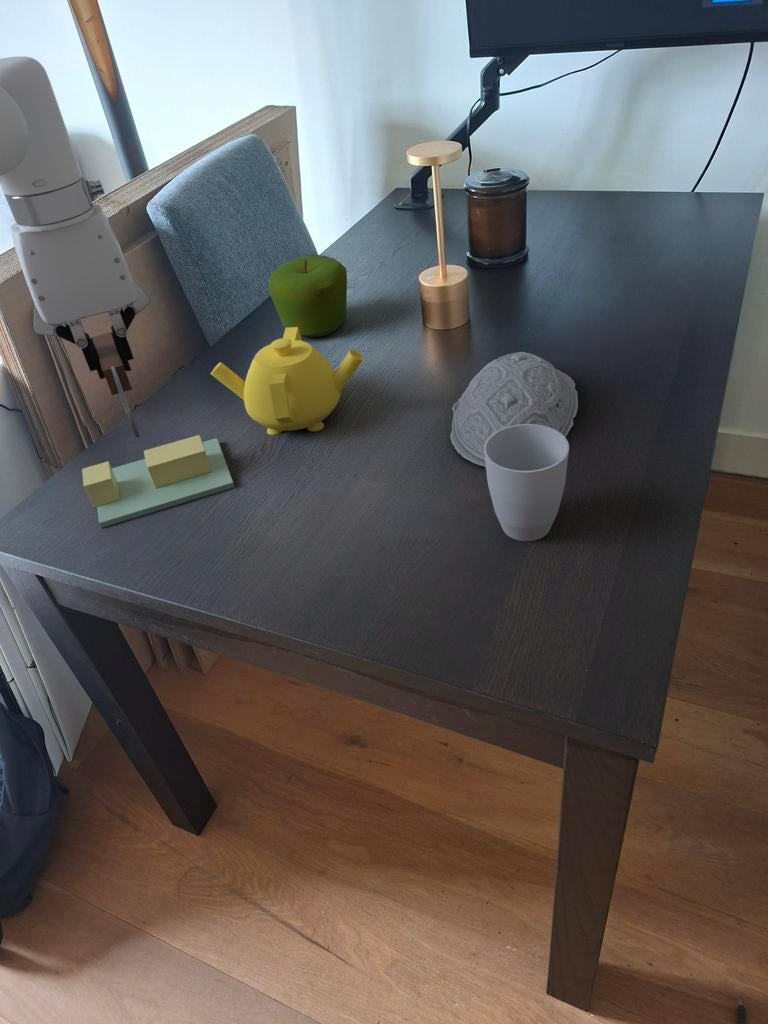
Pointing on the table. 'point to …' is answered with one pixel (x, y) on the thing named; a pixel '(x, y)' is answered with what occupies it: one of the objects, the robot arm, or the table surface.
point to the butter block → (177, 461)
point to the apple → (310, 294)
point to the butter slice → (100, 484)
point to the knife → (114, 371)
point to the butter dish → (162, 488)
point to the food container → (512, 402)
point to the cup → (526, 478)
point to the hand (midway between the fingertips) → (113, 369)
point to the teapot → (290, 384)
